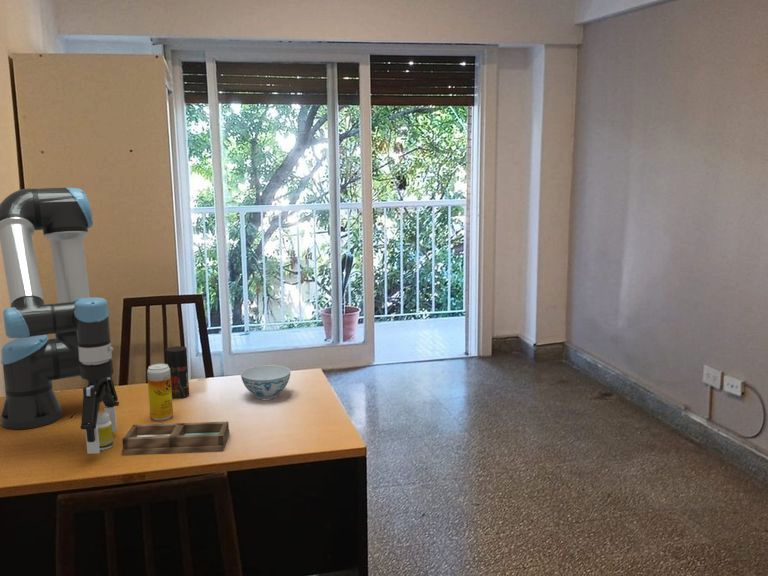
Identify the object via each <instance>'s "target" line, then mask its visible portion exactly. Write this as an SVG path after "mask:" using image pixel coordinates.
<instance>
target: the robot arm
mask: <svg viewBox="0 0 768 576" xmlns="http://www.w3.org/2000/svg"><path fill="white" fill-rule="evenodd" d="M93 225H94V221H93V213H92V209H91V204H90V201H89V198H88V197H87V195H86V193H85V191H84V190H83V189H81V188H79V187H78V188H77V187H67V186H66V187H48V188H47V187H45V188H23V189H22V188H21V189H19V190H17V191H14V192H12V193H10V194H8V195H7V196H6V197H5V198H4V199H3V200H2V202H0V249H1V254H2V255H1V256H2V261H3V267H4V272H5V273H4V274H5V279H6V285H7V293H8V298H9V304H10V305H9V306H10V307H9V308H5V309H4V310H3V311H2V316H3V324H4V332H5V335H6V337H7V338H9V339H12V340H9V341H8V342H6V343H5V344H4V345H3V346H2V347H1V350H0V351H1V362H0V363H1V365H2V369H3V381H4V390H5V391H4V392H5V399H4V403H3V407H2V410H1V414H0V419H1V420H0V421H1V426H2V427H3V428H6V429H11V430H26V429H33V428H39V427H42V426H47V425H49V424H52V423H54V422H56V421H58V420H60V419H61V418H62V416H63V410H62V408H63V407H62V405H61V403H60V401H59V400H58V397H57V395H56V394H55V391H54V388H53V381H55V380H56V381H57V380H62V379H69V378H75V377H80V378H81V379H84V380H86V381H87V382H88V384H87V386H85V387H83V388H82V397H83V399H82V407H81V410H82V411H81V420H80V430H84V431H85V440H86V441H85V443H86V450H87V451H86V452H87V453H86V454H88V455H89V454H100V452H101V450H100V446H99V435H98V427H96V423H97V417H98V413H99V412H100V411H99V409H100V404H101V403H102V404H103V405H104V406H103V407H104V408H103V413H108V414H109V417H110V421H111V423H112V433H113V432H117V431H118V425H117V423H118V422H117V412H116V407H119V404H120V402H119V399H118V394H117V391H116V389H115V388H116V387H115V384H114V381H113V374H114V364H113V363H114V362H113V360H112V357H113V356H112V355H113V353H112V352H113V351H114V347H113V346H112V341H111V332H110V310H109V308H108V301H107V299H105V298H103V297H91V296H90V285H89V278H88V270H87V262H86V261H87V260H86V253H85V245H84V240H85V238H86V237H87V236H88V234H89V232H88V229H90V228H92V227H93ZM35 231H42V233H43V238H45V239H46V240H47V241H49V243H50V249H51V258H52V259H51V260H52V267H53V275H54V283H55V284H54V285H55V292H56V299H57V303H49V304H45V301H44V295H43V289H42V285H41V279H40V275H39V269H38V263H37V258H36V252H35V247H34V244H33V243H34V242H33V235H34V233H35ZM53 334H54V335H55V337H54V338H49V336H48V335H53Z"/></svg>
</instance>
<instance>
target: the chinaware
mask: <svg viewBox="0 0 768 576" xmlns="http://www.w3.org/2000/svg"><path fill="white" fill-rule="evenodd" d="M240 377H241V380H242V381H241V382H242V384H243V385H244V387H245V388H246V389H247V391H248V392H250V393H251V394H253V395H254V396H255V399H257V398H259V399H258V400H260V399H270V400H272V399H271V398H274V397H276V396H277V395H278V396H279V394H280V393H281V392H282V391H283V390H284V389H285V388H286V386H288V385H287V384H288V383H289V382H290V381H289V380H290V378H291V369H290V368H289V367H287V366H282V365H277V364H265V365H263V364H262V365H256V366H252V367H248V368H246V369H244V370H241V373H240ZM278 396H277V397H278ZM277 397H276V398H277ZM274 399H275V398H274Z"/></svg>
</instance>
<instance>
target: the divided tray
mask: <svg viewBox="0 0 768 576" xmlns="http://www.w3.org/2000/svg"><path fill="white" fill-rule="evenodd" d="M229 428H230V427H229V421H209V422H205V421H204V422H182V423H181V422H180V423H179V422H177V423H176V422H175V423H152V424H151V423H150V424H149V423H146V424H133V425H132V426H130V428H129V430H127V432H126V434H125V435H124V437H123V438H122V450H121V451H122V452H121V453H122V456H129V455H130V454H131V456H132V454H135V455H155V454H156V455H157V454H158V453H161V454H181V453H182V454H183V453H184V454H185V453H204V452H205V453H206V452H207V453H210V452H224V450H225V447H226V444H227V441H228V438H229V436H230V429H229Z"/></svg>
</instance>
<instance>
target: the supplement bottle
mask: <svg viewBox="0 0 768 576" xmlns="http://www.w3.org/2000/svg"><path fill="white" fill-rule="evenodd" d="M96 427H98V435H99V446H100V451H104V450H105V451H106V450H108V449H111V448H112V447H113V446H114V435H113V432H112V423H111V421H110V417H109V414H108V413H104V412H98V417H97V423H96Z"/></svg>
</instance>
